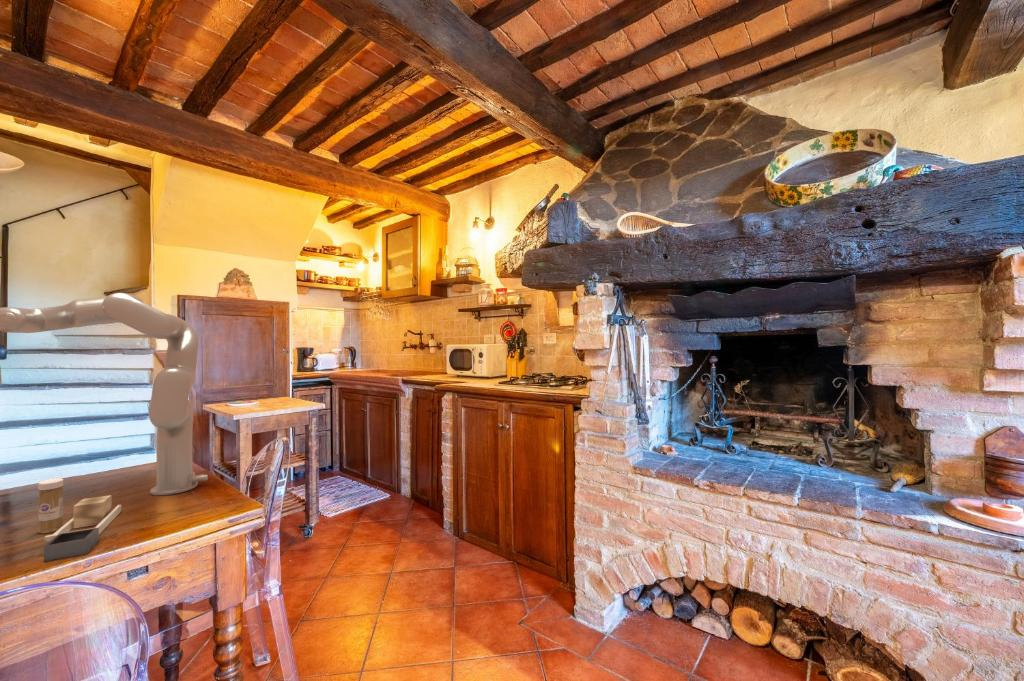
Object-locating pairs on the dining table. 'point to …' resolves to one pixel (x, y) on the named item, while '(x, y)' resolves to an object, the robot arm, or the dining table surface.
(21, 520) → the dining table surface
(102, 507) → the cardboard box
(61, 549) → the winch socket
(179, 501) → the dining table surface
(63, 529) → the bay
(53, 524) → the sprinkles bottle
